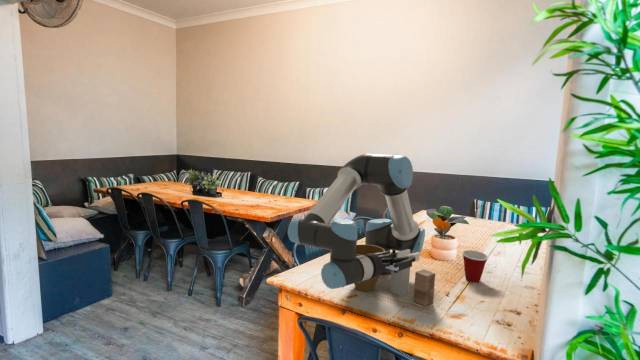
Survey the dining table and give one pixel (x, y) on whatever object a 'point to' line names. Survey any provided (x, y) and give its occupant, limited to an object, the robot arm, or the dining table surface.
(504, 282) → the dining table surface
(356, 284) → the plant pot
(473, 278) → the plastic cup
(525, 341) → the dining table surface
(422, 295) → the walnut block
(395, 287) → the grey block
